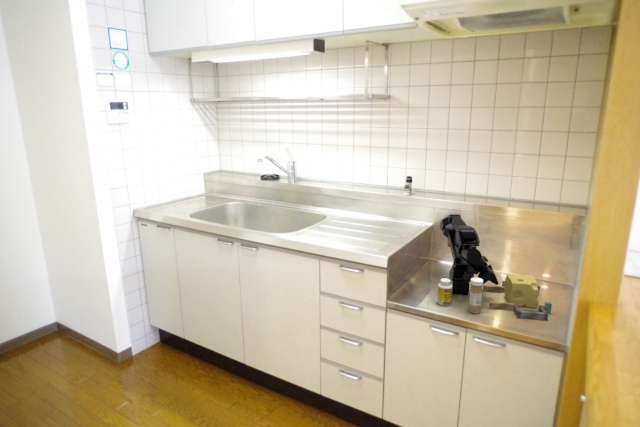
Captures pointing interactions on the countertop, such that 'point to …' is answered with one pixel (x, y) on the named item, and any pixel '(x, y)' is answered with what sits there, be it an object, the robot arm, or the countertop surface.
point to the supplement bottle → (445, 292)
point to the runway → (520, 313)
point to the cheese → (521, 290)
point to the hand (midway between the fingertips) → (497, 284)
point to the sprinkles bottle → (475, 295)
